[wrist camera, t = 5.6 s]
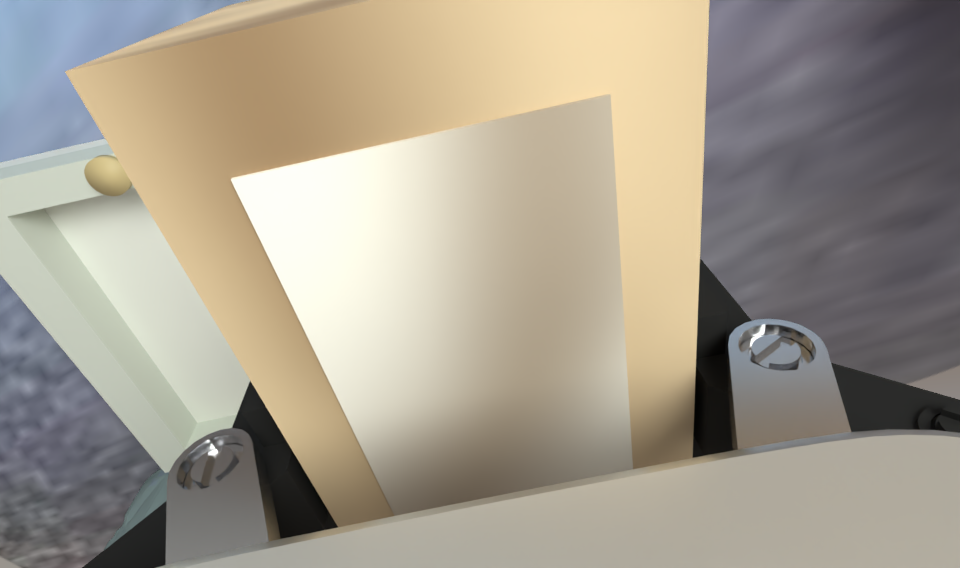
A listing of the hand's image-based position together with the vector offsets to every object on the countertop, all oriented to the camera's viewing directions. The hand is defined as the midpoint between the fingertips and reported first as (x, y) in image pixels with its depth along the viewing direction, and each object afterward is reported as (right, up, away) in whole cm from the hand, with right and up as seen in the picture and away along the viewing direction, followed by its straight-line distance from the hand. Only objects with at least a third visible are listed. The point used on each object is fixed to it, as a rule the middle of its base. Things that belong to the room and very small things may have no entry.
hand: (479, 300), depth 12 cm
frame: (0, 0, +1) cm, 1 cm away
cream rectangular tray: (-14, 0, +17) cm, 22 cm away
